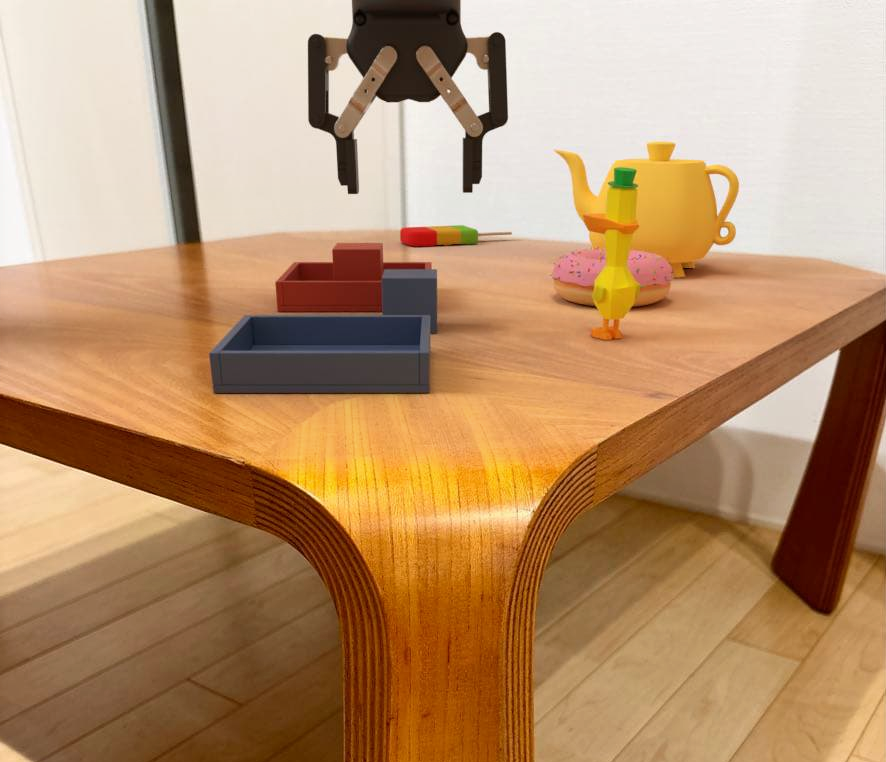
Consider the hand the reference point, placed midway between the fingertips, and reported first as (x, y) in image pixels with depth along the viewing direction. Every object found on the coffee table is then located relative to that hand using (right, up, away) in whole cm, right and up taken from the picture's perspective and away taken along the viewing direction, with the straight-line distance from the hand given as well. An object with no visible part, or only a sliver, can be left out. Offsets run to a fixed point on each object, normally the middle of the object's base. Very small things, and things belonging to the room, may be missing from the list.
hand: (410, 192), depth 68 cm
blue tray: (-5, -15, -8) cm, 17 cm away
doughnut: (+18, -4, +15) cm, 24 cm away
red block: (-5, -4, +15) cm, 16 cm away
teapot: (+24, +4, +32) cm, 40 cm away
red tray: (-5, -4, +15) cm, 16 cm away
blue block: (0, -9, +4) cm, 10 cm away
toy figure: (+15, -10, +2) cm, 18 cm away
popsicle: (+4, +13, +51) cm, 53 cm away
